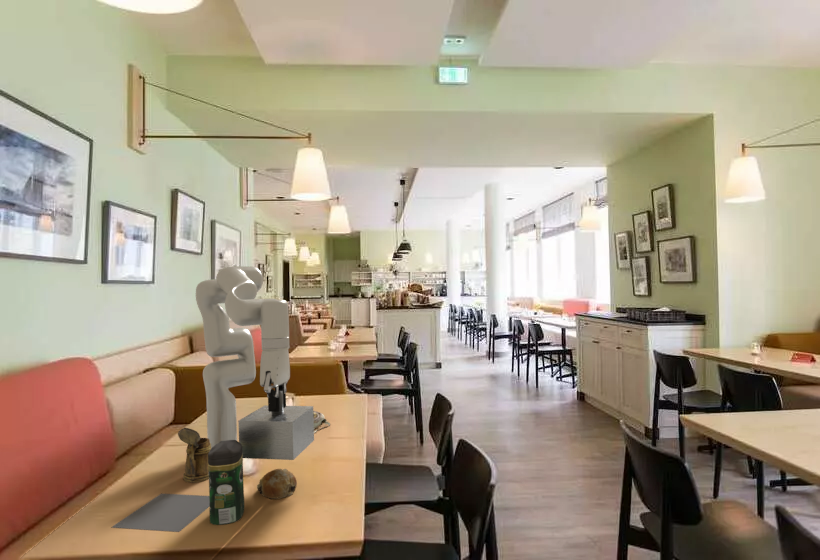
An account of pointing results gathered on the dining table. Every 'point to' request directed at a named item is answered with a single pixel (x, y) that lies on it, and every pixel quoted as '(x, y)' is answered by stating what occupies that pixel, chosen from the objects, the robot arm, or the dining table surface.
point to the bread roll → (277, 484)
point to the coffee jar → (226, 482)
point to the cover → (277, 432)
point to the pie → (318, 419)
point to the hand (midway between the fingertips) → (277, 408)
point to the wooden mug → (195, 455)
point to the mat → (166, 513)
